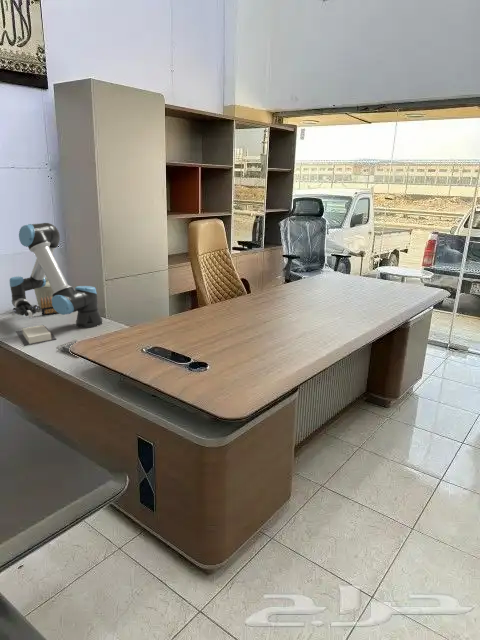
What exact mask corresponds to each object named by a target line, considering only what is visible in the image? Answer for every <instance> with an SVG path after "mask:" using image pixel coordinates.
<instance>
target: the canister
mask: <svg viewBox="0 0 480 640" xmlns="http://www.w3.org/2000/svg"><path fill="white" fill-rule="evenodd" d="M44 278H45V279H46V285H45V286H44V287H41V288H37V289H33V290H34V293H35V299H36V303H37V305H38V307H39V308H40V309H41V297H42V300H43V304H44V297H45V299H46V303H47V297H48V299H49V303H50V296H51V299H52V298H53V296H52V294H53V289H52V287H51V285H50V283H49V281H48V279H47V277H46V276H44Z"/></svg>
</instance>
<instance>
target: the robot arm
mask: <svg viewBox="0 0 480 640" xmlns="http://www.w3.org/2000/svg"><path fill="white" fill-rule="evenodd" d="M60 239H61V237H60V232H59V230H58V228H57V227H56V226H55V225H53V224H52V223H49V222H42V223H28V224H24V225H22V226H21V227H20V229H19V232H18V240H19V242H20V244H21V245H22V246H23V247H26V248H28V249H29V252H31V253H34V255H35V257H36V259H35V262H34V266H33V268H32V271H31V274H30V277H27V278H24V277H23V276H19V275H18V276H11V277H10V278H9V287H10V292H11V304H12V306H13V308H12V309H13V311H12V312H13V313H15V314H18V315H20V316H25V317H29V318H30V319H32V318H34V317H33V315H35V314H36V312H37V310H38V306H37V305H38V304H34V305H32V304H31V303H30V302H29V301H28V300H27V297H26V292H27V291H31V290H32V291H33V290H34V289H37V288H41V287H44V286H45V285H46V279H45V278H44V277H47V279H48V281H49V283H50V285H51V287H52V289H53V294H52V296H53V298H52V306H53V308H54V309H55V311H56V312H58V313H60V315H70V314H72V313H75V312H77V315H76V320H75V323H76V324H75V325H76V327H78V328H86V329H87V328H94V326H95V327H98V326H97V325H99V326H100V324H101V325H103V323H102V322H103V318H102V316H101V313H100V311H99V304H98V303H99V302H98V293H97V289H96V287H95V286H92V285H79V286H78V285H77V286H75V288H74V287H73V286H72V285H69V284H68V281H67V279H66V278H65V275H64V274H63V272H62V270H61V268H60V266H59V264H58V262H57V260H56V258H55V256H54V252H55V250H56V249H58V246H59V244H60V241H61V240H60ZM54 309H53V310H54Z"/></svg>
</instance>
